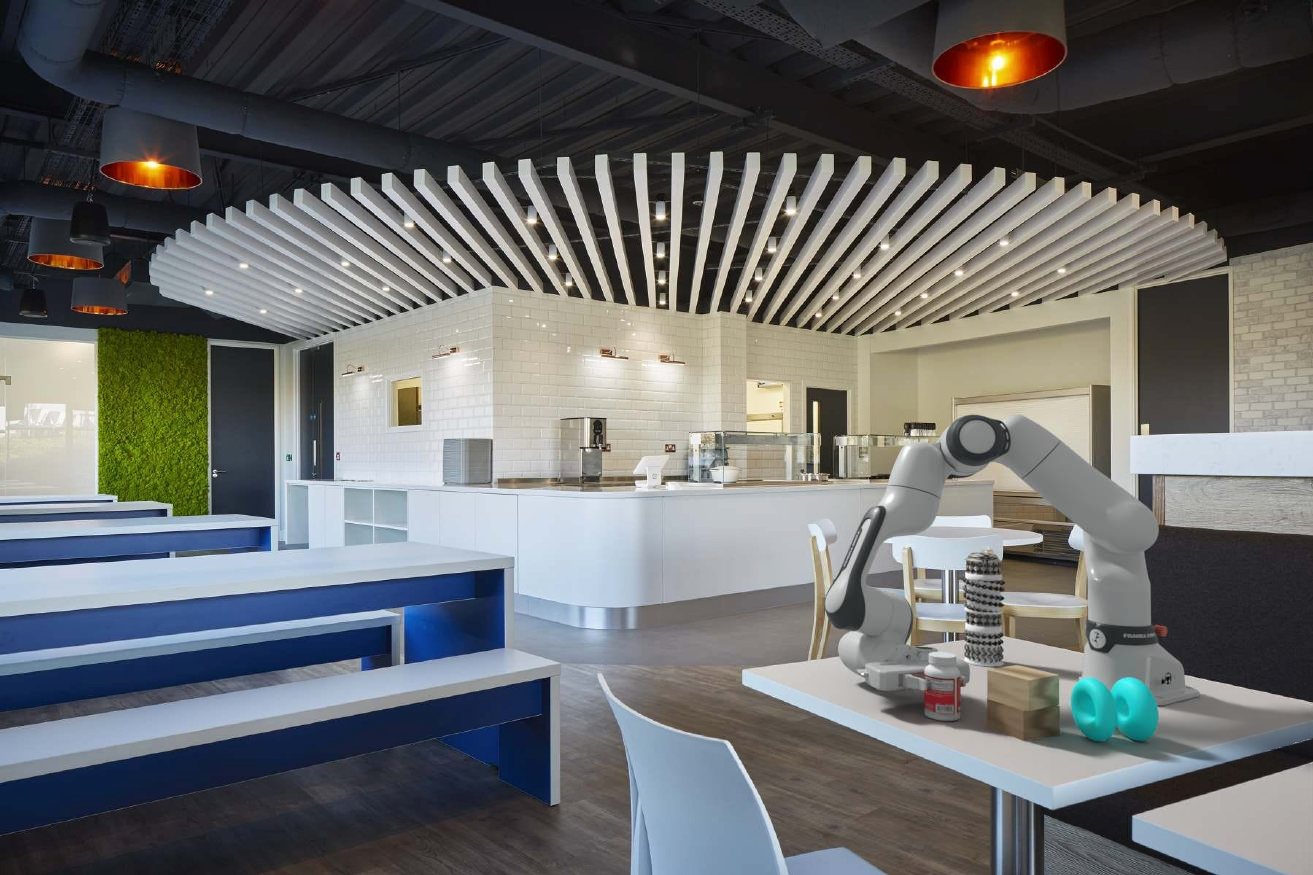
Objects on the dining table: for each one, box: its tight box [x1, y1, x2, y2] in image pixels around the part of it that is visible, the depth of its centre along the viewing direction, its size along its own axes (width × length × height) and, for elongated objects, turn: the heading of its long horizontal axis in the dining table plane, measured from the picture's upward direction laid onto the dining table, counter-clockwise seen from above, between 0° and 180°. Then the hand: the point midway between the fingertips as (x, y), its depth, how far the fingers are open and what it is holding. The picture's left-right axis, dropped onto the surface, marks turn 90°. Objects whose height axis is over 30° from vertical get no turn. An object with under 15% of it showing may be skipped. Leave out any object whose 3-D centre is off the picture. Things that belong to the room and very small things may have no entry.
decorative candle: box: [961, 552, 1006, 668], centre depth 192 cm, size 9×9×25 cm
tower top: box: [986, 664, 1060, 711], centre depth 141 cm, size 8×8×5 cm
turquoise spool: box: [1070, 677, 1160, 742], centre depth 137 cm, size 10×10×10 cm
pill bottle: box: [923, 651, 962, 722], centre depth 149 cm, size 6×6×11 cm
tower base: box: [986, 698, 1061, 742], centre depth 141 cm, size 8×8×5 cm
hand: (945, 683), depth 148 cm, fingers closed on pill bottle, 6 cm apart
